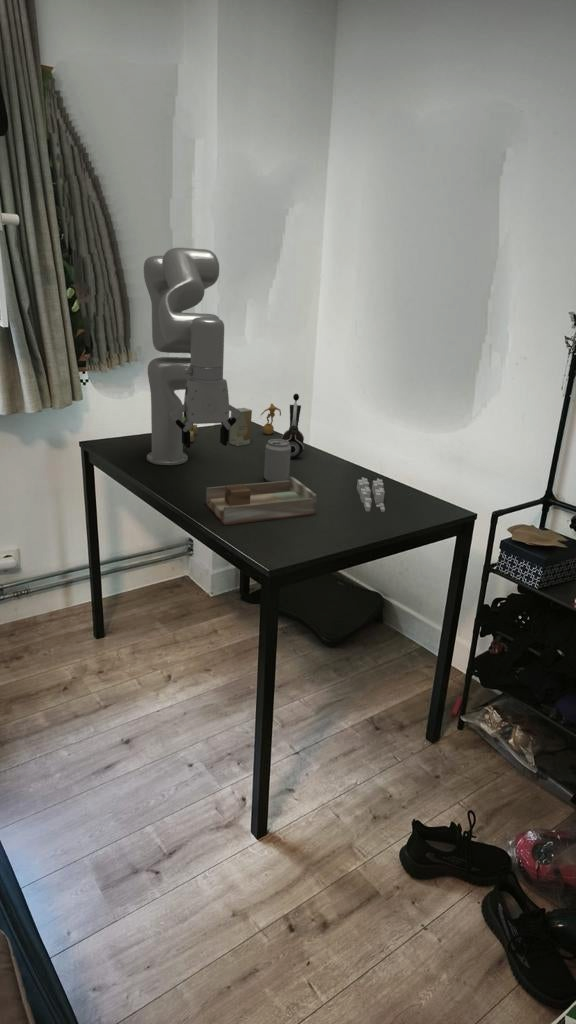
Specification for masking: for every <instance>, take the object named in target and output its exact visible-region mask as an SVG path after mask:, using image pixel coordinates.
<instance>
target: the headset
mask: <svg viewBox="0 0 576 1024" xmlns="http://www.w3.org/2000/svg"><path fill="white" fill-rule="evenodd" d="M299 399H300V395H299V394H298V393H294V394H293V400H294V403H293V404H289V428H288V429H287V430H285V432H284V433H283V434H282V436H281V437H282V438H281V439H283V440H287V441H288V442H289V445H290V446H291V456H290V459H294V458H298V457H299V456H300V455H301V454H302V453H303V451H304V450H305V446H304V441H305V436H304V435H303V433H302V432H301V430H300V429H299V422H300V415H301V409H302V405H298V403H297V401H298V400H299Z"/></svg>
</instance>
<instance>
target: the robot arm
mask: <svg viewBox="0 0 576 1024" xmlns="http://www.w3.org/2000/svg"><path fill="white" fill-rule="evenodd" d="M219 277H220V263H219V259H218V257H217V255H216V254H215V253H214V252H213V251H211V250H209V249H205V248H191V247H174V248H169V249H168V250H167V251H165V253H164V255H153V256H149V257H148V258H146V259H145V261H144V264H143V279H144V283H145V286H146V289H147V292H148V295H149V297H150V298H149V299H150V302H151V339H152V346H153V347H154V349H155V351H157V352H160V353H168V354H170V353H171V354H172V353H173V354H189V355H190V357H178V356H173V357H172V356H163V357H161V356H160V357H156V358H153V359H152V360H151V361H149V362H148V365H147V376H148V385H149V389H150V405H151V407H150V408H151V409H150V410H151V411H150V412H151V413H150V414H151V416H150V417H151V418H150V419H151V422H150V423H151V452H149V453H147V455H146V460H147V461H148V462H149V463H151V464H154V465H159V466H177V465H181V464H182V465H183V464H185V463H186V462H187V461H188V460H189V459H188V458H189V456H188V455H187V454H186V453H185V452H184V447H185V448H186V449H190V448H191V442H190V432H189V428H190V427H191V426H192V424H193V425H200V424H201V425H202V424H203V425H208V424H221V426H220V428H219V429H220V432H219V434H220V435H219V436H220V437H219V443H220V444H221V445H222V446H224V447H226V446H228V442H230V429H231V426H232V425H233V424H234V423H235V422H236V419H237V418H238V416H239V415H240V413H241V412H240V411H239V410H238V409H237V408H236V407H234V406H233V405H231V404H230V401H229V399H230V398H229V388H228V382H227V379H225V378H224V359H225V358H224V355H225V354H224V353H225V323H224V321H223V320H222V319H220V317H219V316H218V315H216V314H214V313H213V314H211V313H198V312H185V311H188V309H189V310H190V309H191V308H192V309H193V308H194V307H195V306H197V305H199V304H200V302H202V300H203V298H204V296H205V290H206V289H209V288H210V287H212V286H214V285H215V284H216V282H218V280H219ZM179 390H180V391H181V390H182V391H184V390H185V392H184V399H183V402H182V400H181V397H180V398H179V396H178V395H177V394H176V393H175V391H179ZM231 412H232V416H231V415H230V413H231ZM183 413H184V417H185V420H184V421H183Z"/></svg>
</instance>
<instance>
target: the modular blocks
mask: <svg viewBox="0 0 576 1024" xmlns="http://www.w3.org/2000/svg"><path fill="white" fill-rule="evenodd" d="M369 485H370V483H369V481H368V478H365V477H362V476H361V479H357V485H356V490H357V493H358V495H359V499H360V501H361V503H363V506H364V509H365V512H371V508H372V503H373V500H372V498H371V492H372V496H373V499H374V503H375V506H376V508H379V509H380V513H381V512H382V513H385V511H386V508H385V504H384V499H385V492H386V491H385V488H384V482H383V479H382V478H381V479H380V478H378V477H377V478H376V480H372V484H371V485H372V486H371V487H372V488H370V486H369Z"/></svg>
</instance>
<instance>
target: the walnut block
mask: <svg viewBox="0 0 576 1024" xmlns="http://www.w3.org/2000/svg"><path fill="white" fill-rule="evenodd" d="M244 484H245V483H239V484H230V485H229V484H228V485H224V486H225V501H226V502H227V503H228V504H229V505H230V506H237V505H247V504H250V493H251V490H250V489H248V488H247V487H246V486H245V485H244Z"/></svg>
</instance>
